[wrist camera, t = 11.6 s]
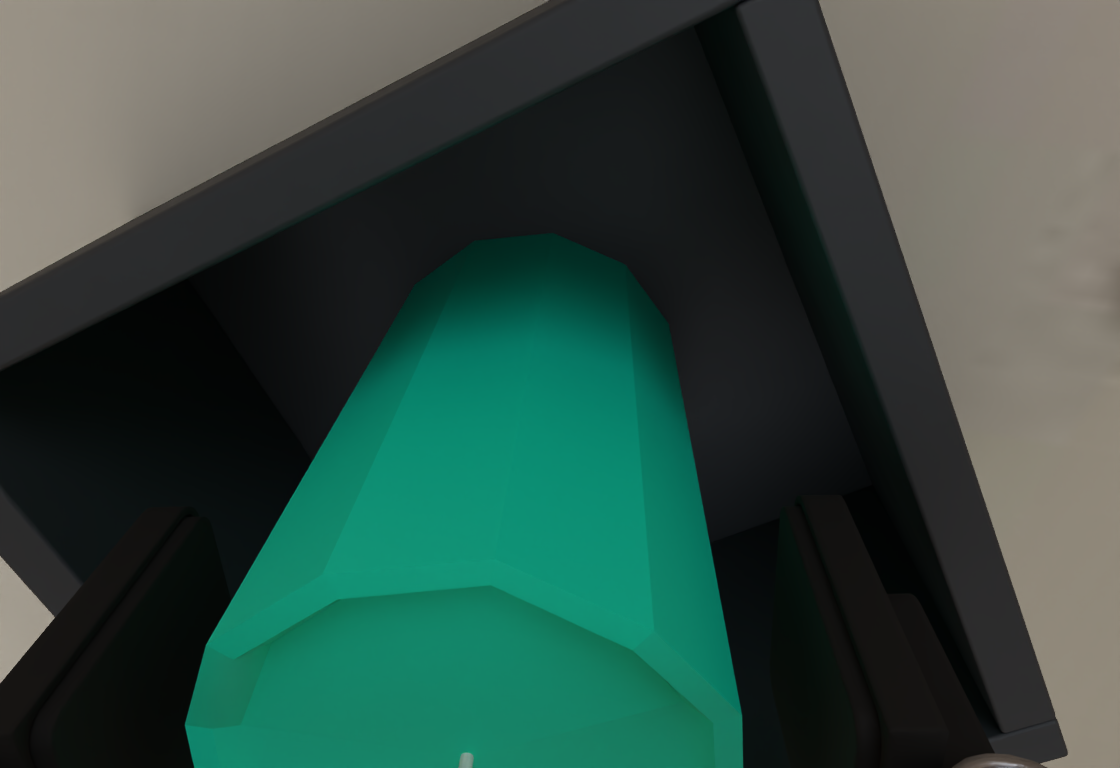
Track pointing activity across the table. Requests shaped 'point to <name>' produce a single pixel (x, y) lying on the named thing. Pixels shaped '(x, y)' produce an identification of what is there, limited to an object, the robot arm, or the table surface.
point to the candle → (489, 548)
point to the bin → (519, 210)
